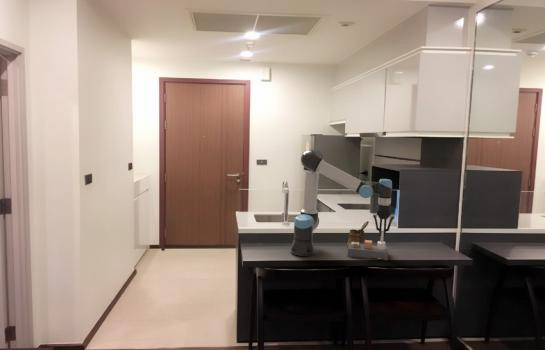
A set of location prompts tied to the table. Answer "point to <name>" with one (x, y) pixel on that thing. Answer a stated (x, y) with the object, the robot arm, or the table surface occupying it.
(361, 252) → the key console
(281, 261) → the table surface
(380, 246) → the white key
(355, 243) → the birch key
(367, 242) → the terracotta key
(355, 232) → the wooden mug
